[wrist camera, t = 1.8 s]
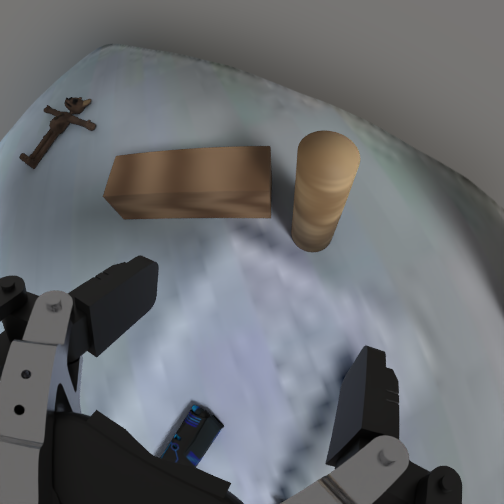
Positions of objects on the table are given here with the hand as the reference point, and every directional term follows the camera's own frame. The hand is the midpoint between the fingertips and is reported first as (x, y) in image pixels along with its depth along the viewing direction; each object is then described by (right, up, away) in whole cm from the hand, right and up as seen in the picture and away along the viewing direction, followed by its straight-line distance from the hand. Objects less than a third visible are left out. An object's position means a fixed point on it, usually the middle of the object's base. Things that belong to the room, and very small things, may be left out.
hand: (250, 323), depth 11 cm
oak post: (+6, +4, +19) cm, 20 cm away
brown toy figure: (-31, +22, +29) cm, 48 cm away
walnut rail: (-6, +8, +21) cm, 23 cm away
